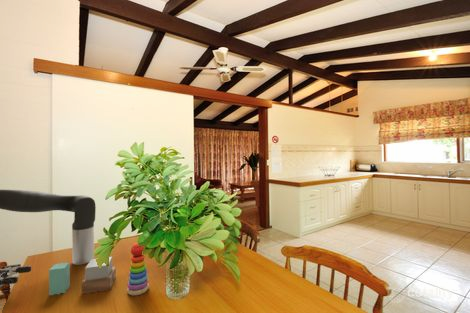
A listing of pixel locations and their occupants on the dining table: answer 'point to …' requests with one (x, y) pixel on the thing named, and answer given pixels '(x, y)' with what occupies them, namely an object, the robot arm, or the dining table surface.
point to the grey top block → (97, 270)
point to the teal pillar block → (59, 278)
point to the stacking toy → (137, 272)
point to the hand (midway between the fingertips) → (24, 273)
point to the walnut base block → (99, 283)
